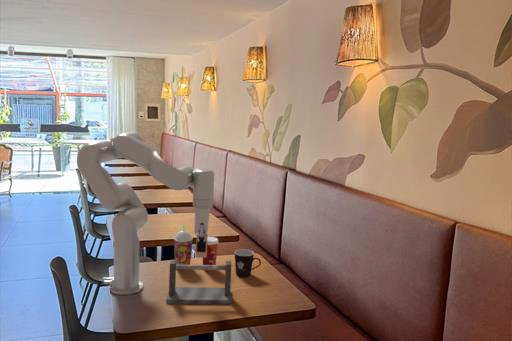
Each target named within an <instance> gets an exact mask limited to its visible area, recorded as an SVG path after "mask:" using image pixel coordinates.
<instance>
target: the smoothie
mask: <svg viewBox="0 0 512 341" xmlns="http://www.w3.org/2000/svg"><path fill="white" fill-rule="evenodd" d="M193 239H194V238H193V236H192V234H191V233H190V231H188V230H185V224H184V223H183V224H182V230H179V231H178V232H176V234H175V235H174V236H173V245H174V247H173V248H174V260H176V265H191V259H192V252H193V251H192V247H193ZM179 270H182V269H179ZM182 271H183V270H182Z"/></svg>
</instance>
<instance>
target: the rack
mask: <svg viewBox="0 0 512 341" xmlns="http://www.w3.org/2000/svg"><path fill="white" fill-rule="evenodd" d="M180 269H182V271H184V270H185V271H186V270H189V271H190V270H192V271H195V270H196V271H198V270H199V271H205V270H213V271H224V272H225V273H224V274H225V276H224V278H225V279H224V287H203V286H200V287H197V286H194V287H193V286H186V287H185V286H184V287H183V286H176V281H177V280H176V277H177V273H176V272H177V270H180ZM168 275H169V278H168V279H169V280H168V281H169V283H168V284H169V286H168V292H167V296H166V304H183V305H184V304H187V305H188V304H191V305H192V304H195V305H196V304H197V305H199V304H200V305H202V304H205V305H211V304H213V305H232V288H231V285H232V284H231V280H232V261H231V260H226V261H225V265H223V264H221V265H219V264H218V265H217V264H216V265H203V264H190V265H176V260H175V259H170V262H169V274H168Z"/></svg>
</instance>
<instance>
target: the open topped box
mask: <svg viewBox="0 0 512 341" xmlns="http://www.w3.org/2000/svg"><path fill="white" fill-rule="evenodd" d="M199 236H200V235H199ZM203 236H204V235H203ZM207 237H209V236H208V233H207V234H206V235H205V241H206V251H205V252H197V241H198V233H196V240H195V241H196V242H195V258H202V259H203V258H207Z"/></svg>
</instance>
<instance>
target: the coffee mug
mask: <svg viewBox="0 0 512 341" xmlns="http://www.w3.org/2000/svg"><path fill="white" fill-rule="evenodd" d="M254 255H255V252H254V251H253V250H251V249H247V248H246V249H245V248H243V249H240V248H239V249H236V250H235V251H234V264H235V275H236V277H239V278H248V277H250V276H251V273H252V270H255V269H257V268H259V267H260V266H261V264H262V260H261V259H260V258H258V257H254ZM254 260H258V262H259V264H258V265H256V266H255V267H253V262H254Z"/></svg>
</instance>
